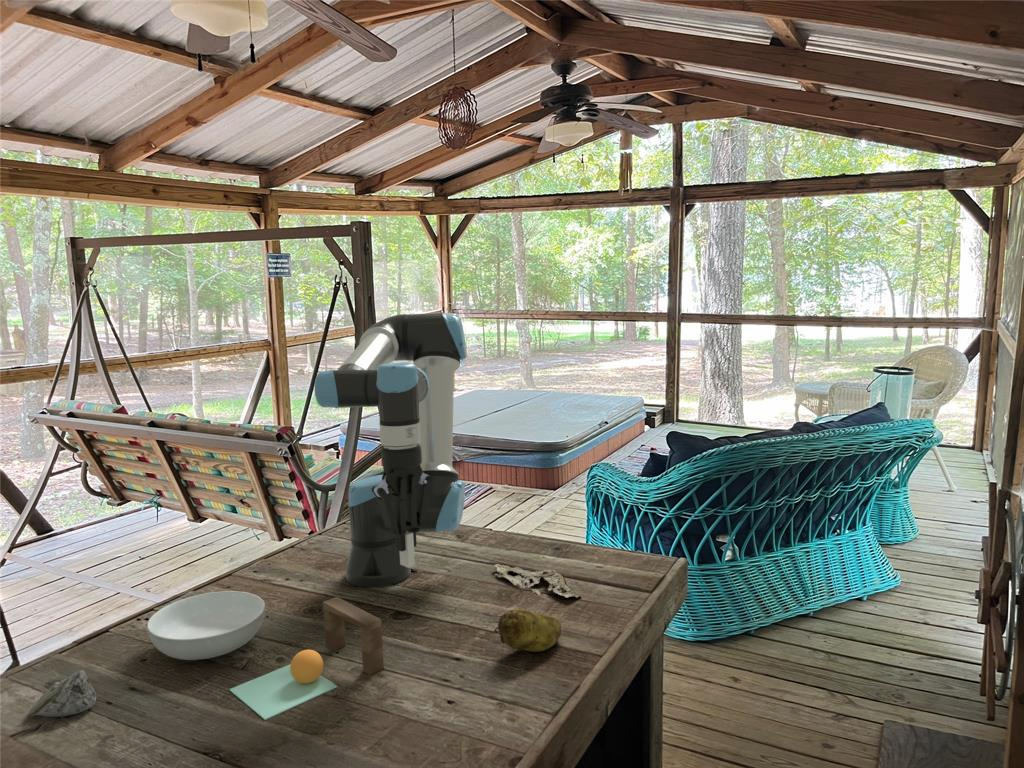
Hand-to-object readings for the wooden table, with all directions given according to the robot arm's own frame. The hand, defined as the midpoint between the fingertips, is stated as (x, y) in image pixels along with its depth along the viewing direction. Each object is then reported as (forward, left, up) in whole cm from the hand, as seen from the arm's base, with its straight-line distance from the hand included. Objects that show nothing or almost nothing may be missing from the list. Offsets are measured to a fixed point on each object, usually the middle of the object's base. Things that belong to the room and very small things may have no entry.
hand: (407, 564), depth 143 cm
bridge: (0, -13, -14) cm, 19 cm away
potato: (+22, +11, -14) cm, 28 cm away
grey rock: (-22, -54, -14) cm, 60 cm away
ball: (+1, -23, -11) cm, 26 cm away
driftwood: (+2, +33, -15) cm, 36 cm away
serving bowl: (-25, -29, -14) cm, 41 cm away
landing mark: (0, -27, -14) cm, 30 cm away
